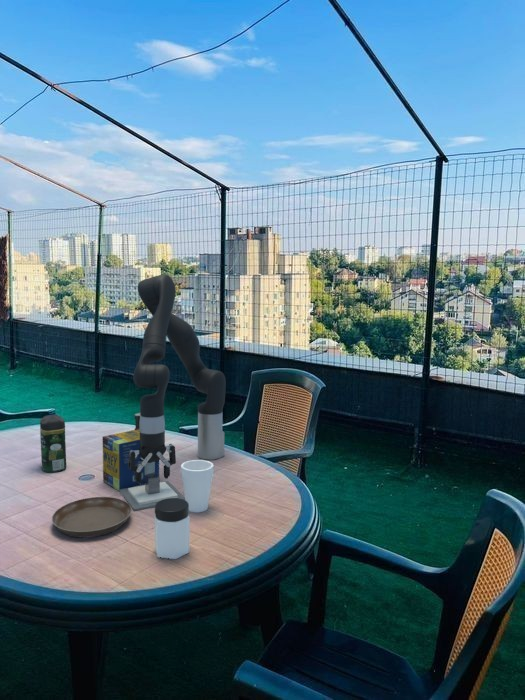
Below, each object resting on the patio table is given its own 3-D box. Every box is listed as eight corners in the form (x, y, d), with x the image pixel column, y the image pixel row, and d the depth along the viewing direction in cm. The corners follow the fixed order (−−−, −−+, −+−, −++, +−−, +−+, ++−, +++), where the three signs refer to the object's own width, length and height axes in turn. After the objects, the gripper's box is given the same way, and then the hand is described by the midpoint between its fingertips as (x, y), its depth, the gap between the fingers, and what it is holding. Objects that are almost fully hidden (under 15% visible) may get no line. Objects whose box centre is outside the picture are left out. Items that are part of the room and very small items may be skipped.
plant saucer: (87, 550, 130) (87, 537, 130) (35, 528, 141) (35, 516, 140) (147, 519, 147) (147, 508, 147) (97, 501, 158) (96, 491, 158)
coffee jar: (40, 465, 186) (38, 414, 184) (63, 462, 190) (62, 412, 188) (43, 474, 178) (41, 421, 175) (68, 471, 182) (66, 418, 179)
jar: (175, 538, 136) (175, 494, 135) (196, 549, 131) (196, 503, 130) (146, 551, 130) (146, 505, 128) (168, 563, 124) (168, 515, 123)
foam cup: (186, 517, 149) (187, 473, 147) (176, 504, 157) (176, 462, 155) (217, 511, 153) (218, 468, 151) (206, 499, 161) (206, 458, 160)
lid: (164, 484, 171) (164, 466, 170) (177, 497, 160) (177, 479, 160) (127, 490, 165) (127, 472, 164) (139, 505, 154) (138, 486, 154)
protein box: (102, 482, 172) (101, 436, 170) (143, 470, 183) (142, 427, 181) (118, 491, 165) (118, 443, 163) (160, 479, 176) (160, 434, 174)
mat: (168, 482, 173) (168, 480, 173) (186, 500, 160) (186, 498, 160) (119, 491, 166) (119, 489, 165) (134, 511, 152) (134, 509, 152)
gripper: (170, 423, 166) (170, 472, 169) (125, 429, 159) (126, 480, 162) (178, 429, 160) (178, 480, 162) (132, 435, 153) (133, 488, 155)
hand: (152, 480), depth 162 cm, fingers open, 8 cm apart
